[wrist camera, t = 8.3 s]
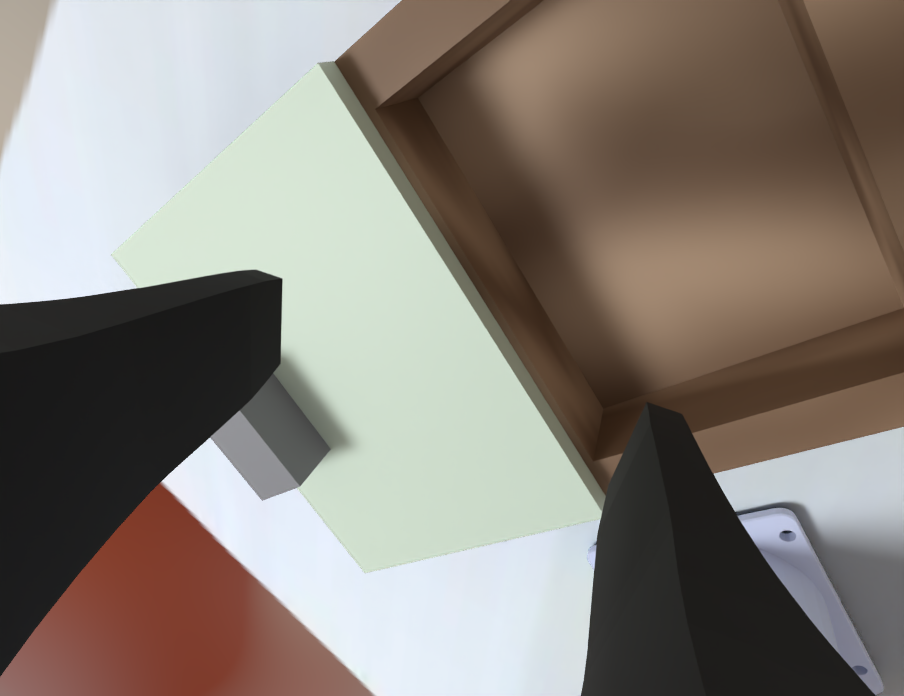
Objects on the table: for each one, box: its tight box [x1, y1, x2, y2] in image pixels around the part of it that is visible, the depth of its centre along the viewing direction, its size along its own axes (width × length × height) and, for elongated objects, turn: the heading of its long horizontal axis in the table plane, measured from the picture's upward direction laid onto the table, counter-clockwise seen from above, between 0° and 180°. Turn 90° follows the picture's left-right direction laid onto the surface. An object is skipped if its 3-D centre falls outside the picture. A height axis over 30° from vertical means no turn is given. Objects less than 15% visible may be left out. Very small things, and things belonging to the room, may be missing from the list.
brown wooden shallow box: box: [335, 0, 904, 496], centre depth 18 cm, size 15×22×4 cm
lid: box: [111, 62, 606, 573], centre depth 18 cm, size 15×10×3 cm
